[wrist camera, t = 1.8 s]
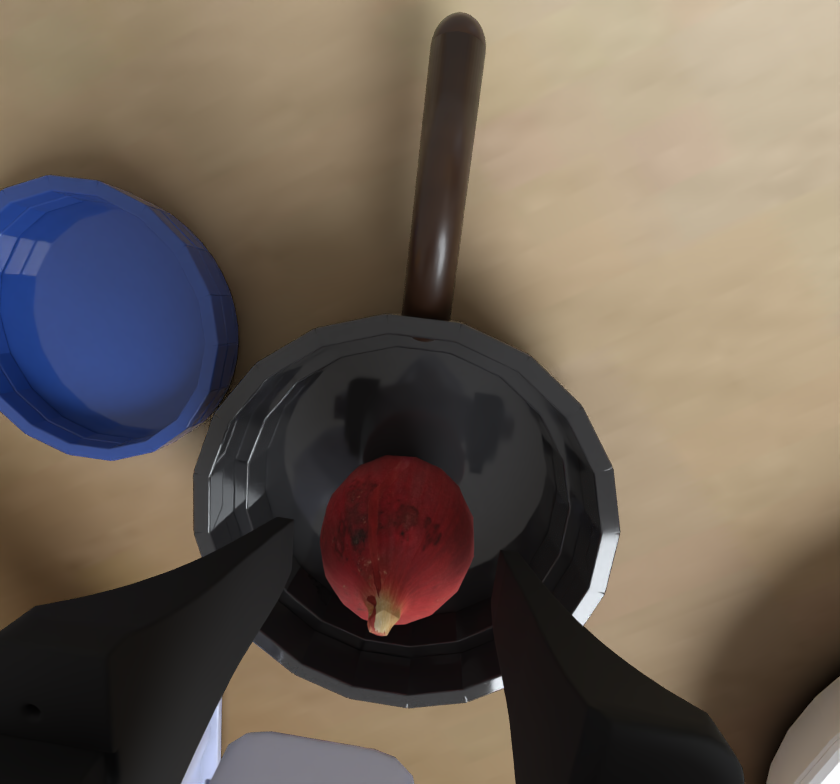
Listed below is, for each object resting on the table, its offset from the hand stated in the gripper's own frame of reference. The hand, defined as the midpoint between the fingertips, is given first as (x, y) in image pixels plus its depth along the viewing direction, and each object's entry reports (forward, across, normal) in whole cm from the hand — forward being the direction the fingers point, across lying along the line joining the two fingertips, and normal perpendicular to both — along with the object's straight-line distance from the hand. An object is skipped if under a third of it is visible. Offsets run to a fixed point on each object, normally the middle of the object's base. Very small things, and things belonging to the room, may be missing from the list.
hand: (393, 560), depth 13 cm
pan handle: (+4, 0, -12) cm, 13 cm away
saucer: (+6, +14, -6) cm, 17 cm away
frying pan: (+6, 0, 0) cm, 6 cm away
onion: (+6, 0, 0) cm, 6 cm away
